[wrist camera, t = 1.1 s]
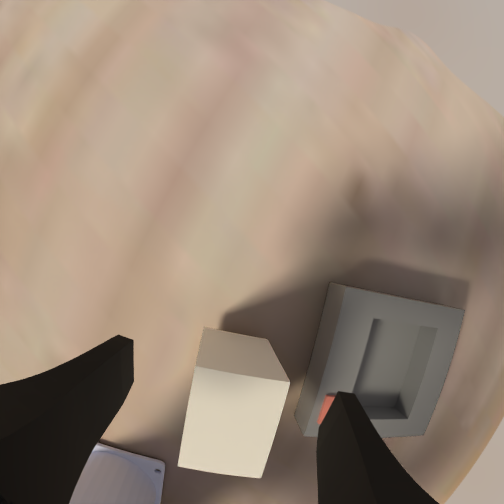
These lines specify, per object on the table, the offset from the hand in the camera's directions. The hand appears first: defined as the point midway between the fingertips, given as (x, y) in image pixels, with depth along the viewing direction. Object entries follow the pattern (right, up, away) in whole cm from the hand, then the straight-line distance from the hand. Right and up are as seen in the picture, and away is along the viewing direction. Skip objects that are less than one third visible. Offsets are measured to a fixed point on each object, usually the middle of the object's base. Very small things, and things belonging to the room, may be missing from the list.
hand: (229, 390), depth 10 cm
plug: (-1, -3, +10) cm, 11 cm away
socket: (+10, -3, +11) cm, 15 cm away
